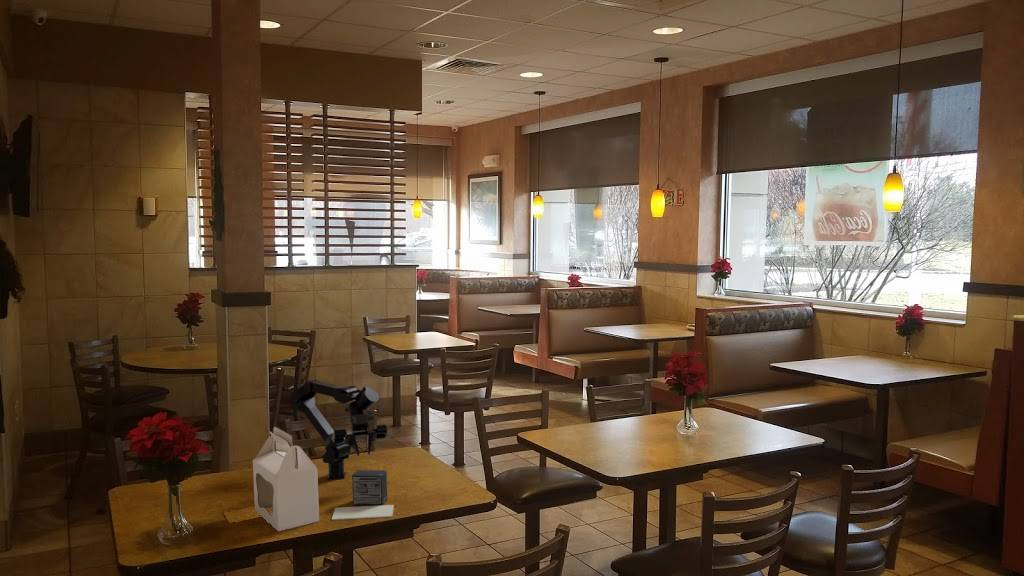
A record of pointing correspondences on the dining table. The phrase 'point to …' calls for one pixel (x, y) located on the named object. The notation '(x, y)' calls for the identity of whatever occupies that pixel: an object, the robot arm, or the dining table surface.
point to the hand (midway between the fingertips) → (363, 454)
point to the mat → (363, 512)
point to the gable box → (285, 483)
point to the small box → (369, 487)
